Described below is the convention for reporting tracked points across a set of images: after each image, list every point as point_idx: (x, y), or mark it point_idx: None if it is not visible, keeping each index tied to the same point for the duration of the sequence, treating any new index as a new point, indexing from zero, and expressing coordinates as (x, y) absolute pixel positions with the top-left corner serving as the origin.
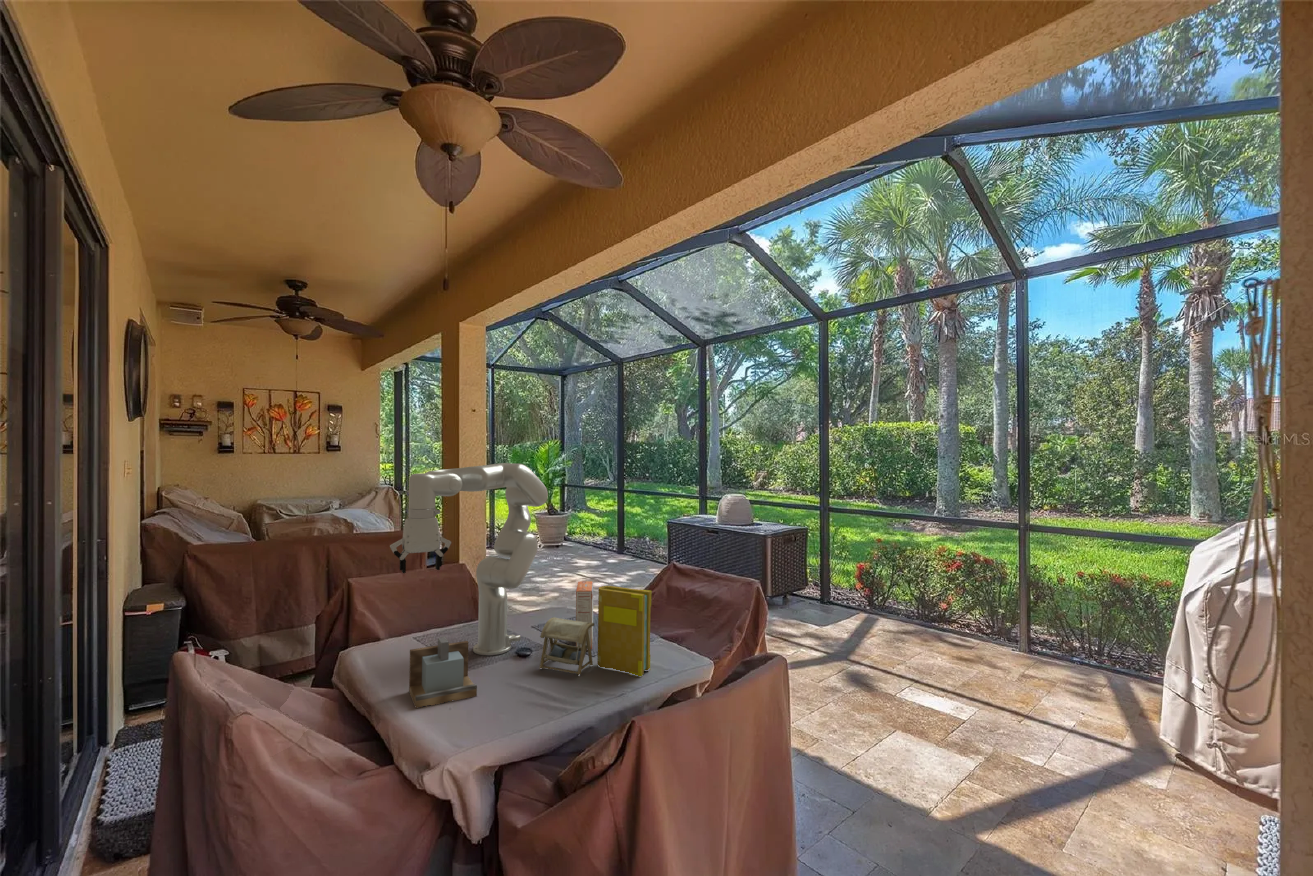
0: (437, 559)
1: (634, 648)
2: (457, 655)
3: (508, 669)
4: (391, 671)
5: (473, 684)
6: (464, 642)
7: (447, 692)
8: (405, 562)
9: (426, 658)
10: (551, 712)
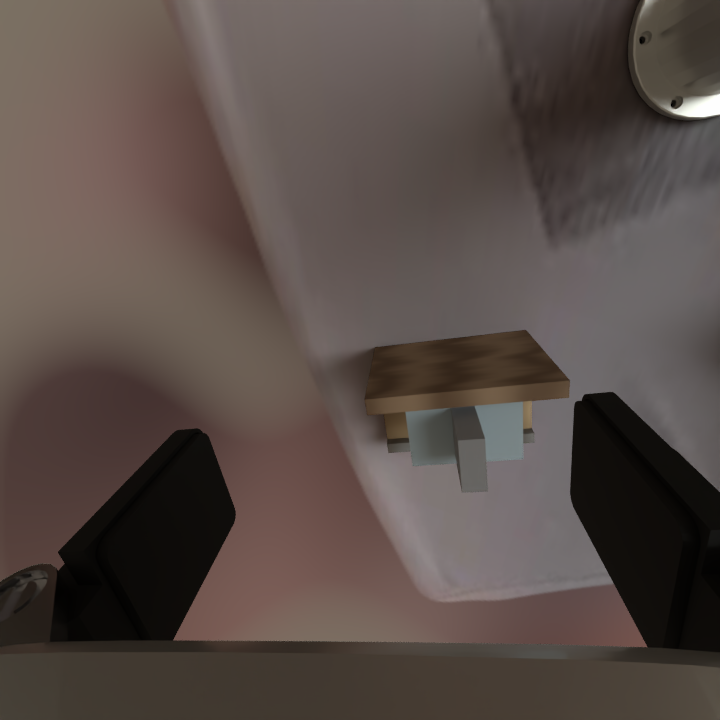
0: (642, 633)
1: None
2: (510, 430)
3: (673, 284)
4: (320, 166)
5: (527, 435)
6: (554, 396)
7: None
8: (175, 628)
9: (415, 421)
10: None
